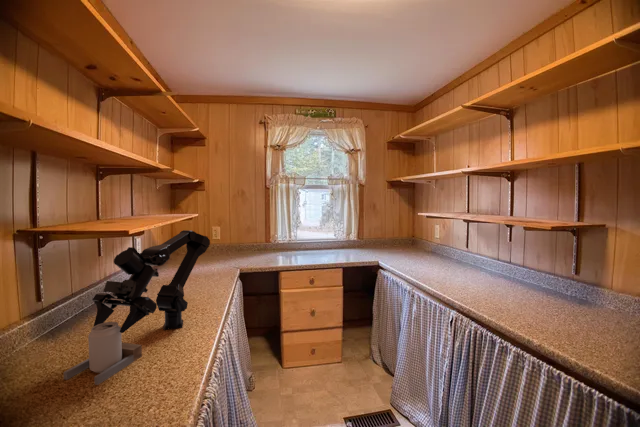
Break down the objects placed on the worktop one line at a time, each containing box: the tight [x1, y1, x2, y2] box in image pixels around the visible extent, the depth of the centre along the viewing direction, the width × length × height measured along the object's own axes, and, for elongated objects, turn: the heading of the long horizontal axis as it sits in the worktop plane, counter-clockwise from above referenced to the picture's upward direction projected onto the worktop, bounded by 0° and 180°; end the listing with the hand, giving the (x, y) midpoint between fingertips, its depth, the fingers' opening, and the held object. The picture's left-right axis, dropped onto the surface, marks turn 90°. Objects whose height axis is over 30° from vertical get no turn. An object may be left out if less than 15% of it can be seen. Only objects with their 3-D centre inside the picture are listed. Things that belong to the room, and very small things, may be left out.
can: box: [87, 321, 123, 374], centre depth 82 cm, size 8×8×12 cm
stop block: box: [122, 342, 143, 362], centre depth 87 cm, size 3×11×4 cm, turn 78°
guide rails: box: [63, 355, 135, 386], centre depth 80 cm, size 11×11×2 cm
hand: (107, 330), depth 82 cm, fingers open, 9 cm apart
